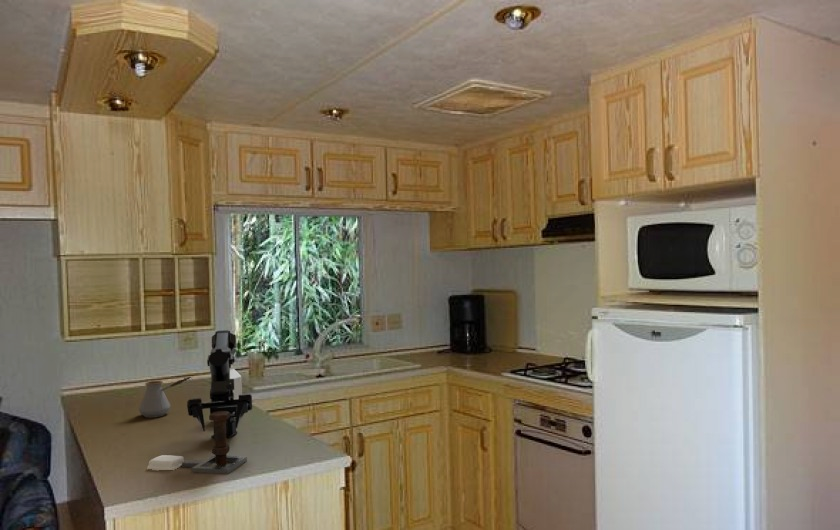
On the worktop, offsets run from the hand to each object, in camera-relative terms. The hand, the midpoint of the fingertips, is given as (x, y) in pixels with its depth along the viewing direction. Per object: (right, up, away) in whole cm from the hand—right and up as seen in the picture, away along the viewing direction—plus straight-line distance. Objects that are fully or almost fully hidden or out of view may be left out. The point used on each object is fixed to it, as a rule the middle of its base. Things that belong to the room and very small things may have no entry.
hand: (220, 429), depth 181 cm
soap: (-14, -10, -6) cm, 18 cm away
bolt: (+2, -9, -6) cm, 11 cm away
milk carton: (-13, -9, +50) cm, 53 cm away
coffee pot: (-39, -10, +56) cm, 69 cm away
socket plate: (0, -9, -7) cm, 11 cm away
